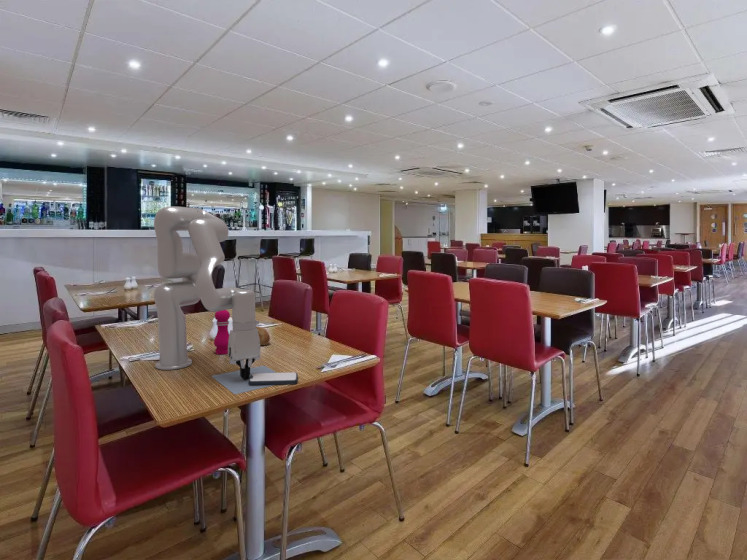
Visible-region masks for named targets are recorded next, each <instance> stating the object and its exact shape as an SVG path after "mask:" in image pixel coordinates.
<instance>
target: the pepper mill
mask: <svg viewBox="0 0 747 560" xmlns="http://www.w3.org/2000/svg"><path fill="white" fill-rule="evenodd" d="M230 318H231V315H230V312H229V311H228V309H227V310H222V311H217V312H214V319H215V320H216V326H217V332H216V335H215V337H214V340H213V345H214V347H215V354H216V355H219V356H220V355H221V356H222V355H228V341H229V334H230V331H229V324H230V323H229V322H230V321H229V319H230Z"/></svg>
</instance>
